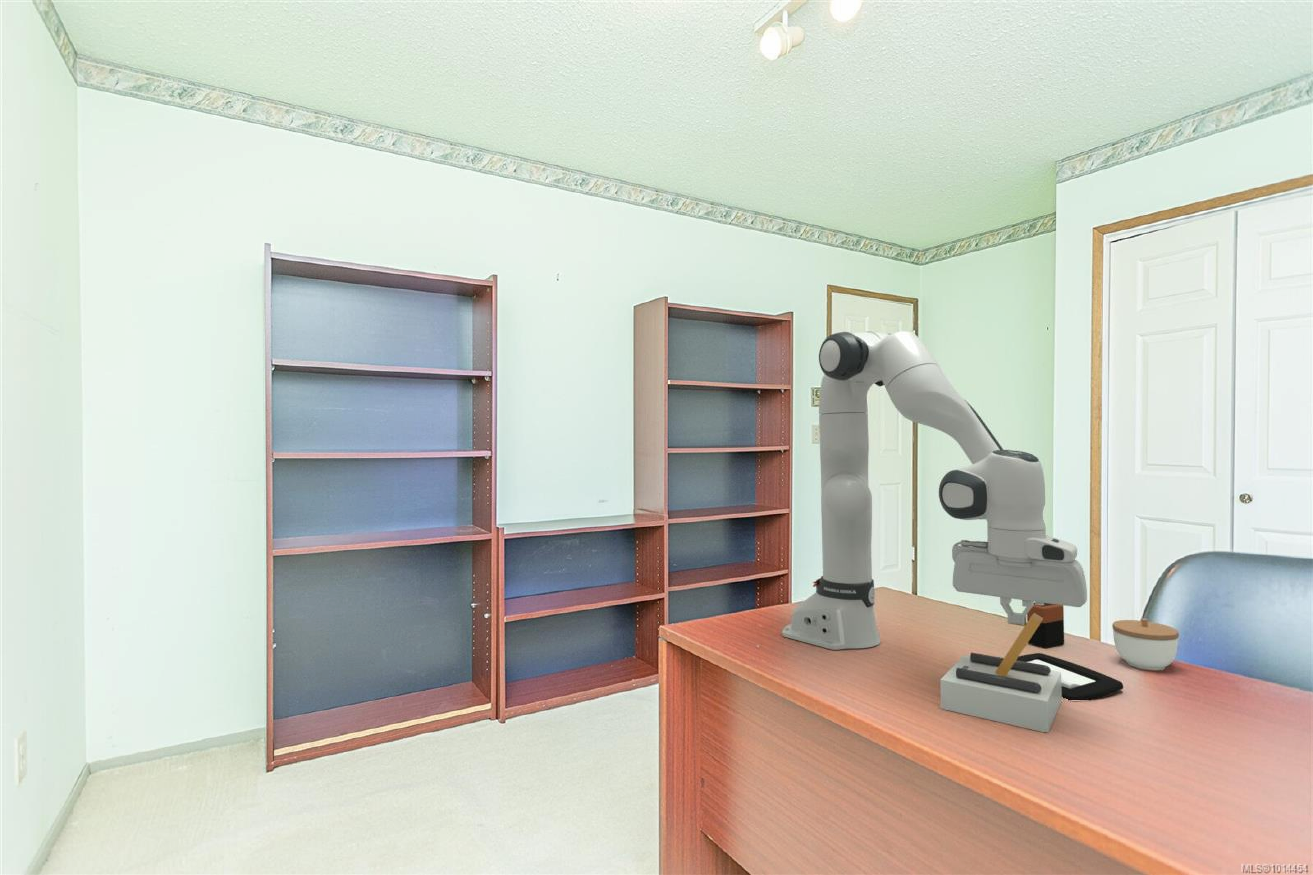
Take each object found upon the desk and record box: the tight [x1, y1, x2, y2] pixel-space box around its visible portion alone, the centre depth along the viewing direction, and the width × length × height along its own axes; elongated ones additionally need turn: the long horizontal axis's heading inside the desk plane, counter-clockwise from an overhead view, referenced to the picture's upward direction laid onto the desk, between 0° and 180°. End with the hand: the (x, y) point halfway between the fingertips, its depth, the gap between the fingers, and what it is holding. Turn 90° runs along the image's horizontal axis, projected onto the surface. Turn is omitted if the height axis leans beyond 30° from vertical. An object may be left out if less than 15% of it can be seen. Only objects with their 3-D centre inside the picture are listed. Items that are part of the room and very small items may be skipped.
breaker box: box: [939, 652, 1063, 734], centre depth 113 cm, size 16×16×7 cm
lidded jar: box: [1111, 618, 1180, 672], centre depth 131 cm, size 11×11×9 cm
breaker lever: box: [995, 613, 1043, 677], centre depth 112 cm, size 2×3×12 cm, turn 141°
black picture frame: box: [1017, 652, 1124, 701], centre depth 125 cm, size 20×3×14 cm
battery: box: [1026, 602, 1065, 649], centre depth 146 cm, size 4×7×10 cm, turn 113°
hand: (1017, 624), depth 112 cm, fingers closed
